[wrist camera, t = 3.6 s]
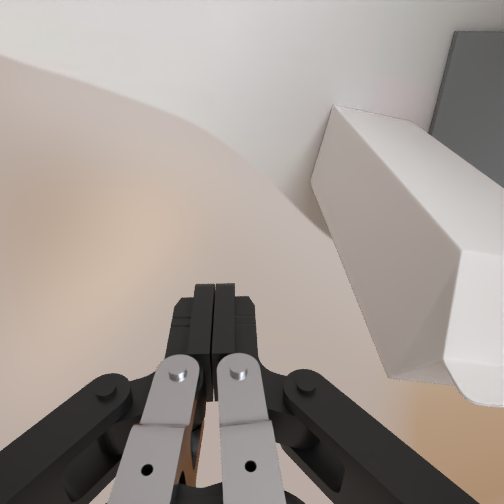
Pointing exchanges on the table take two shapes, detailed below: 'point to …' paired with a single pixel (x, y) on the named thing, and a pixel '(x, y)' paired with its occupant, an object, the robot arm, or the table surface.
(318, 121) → the table surface
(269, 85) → the table surface
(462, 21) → the table surface
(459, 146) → the mat
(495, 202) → the milk
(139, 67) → the table surface
